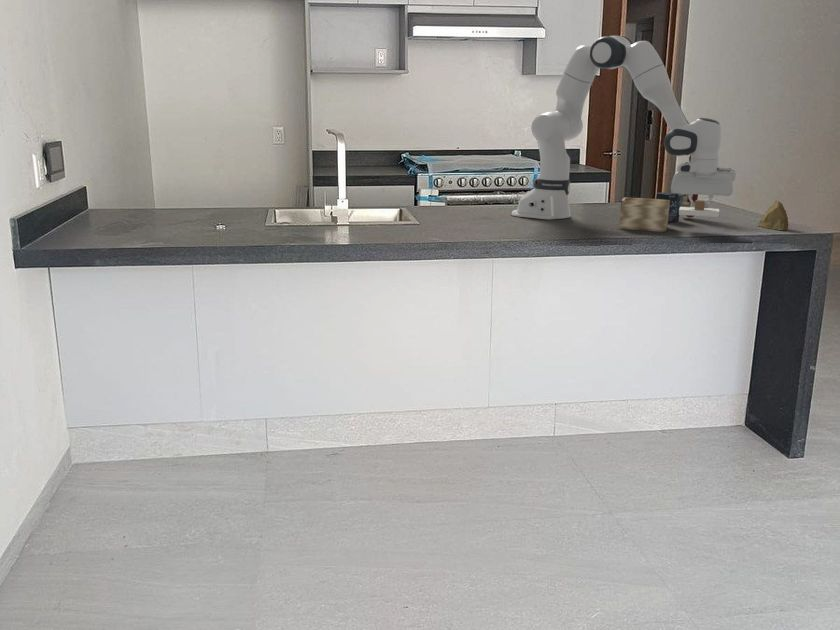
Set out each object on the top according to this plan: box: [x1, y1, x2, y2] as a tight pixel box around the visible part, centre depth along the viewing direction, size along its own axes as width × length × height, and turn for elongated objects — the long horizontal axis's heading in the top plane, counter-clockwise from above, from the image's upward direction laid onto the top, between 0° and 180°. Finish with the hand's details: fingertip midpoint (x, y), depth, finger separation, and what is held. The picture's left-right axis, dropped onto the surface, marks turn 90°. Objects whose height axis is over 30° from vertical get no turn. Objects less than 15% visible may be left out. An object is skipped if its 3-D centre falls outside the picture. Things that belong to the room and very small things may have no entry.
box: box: [655, 191, 682, 223], centre depth 297 cm, size 8×6×11 cm
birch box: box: [618, 197, 670, 233], centre depth 282 cm, size 16×10×10 cm, turn 71°
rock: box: [757, 200, 789, 231], centre depth 285 cm, size 11×9×10 cm
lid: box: [679, 199, 720, 218], centre depth 275 cm, size 13×8×5 cm, turn 71°
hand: (699, 207), depth 275 cm, fingers closed on lid, 3 cm apart
